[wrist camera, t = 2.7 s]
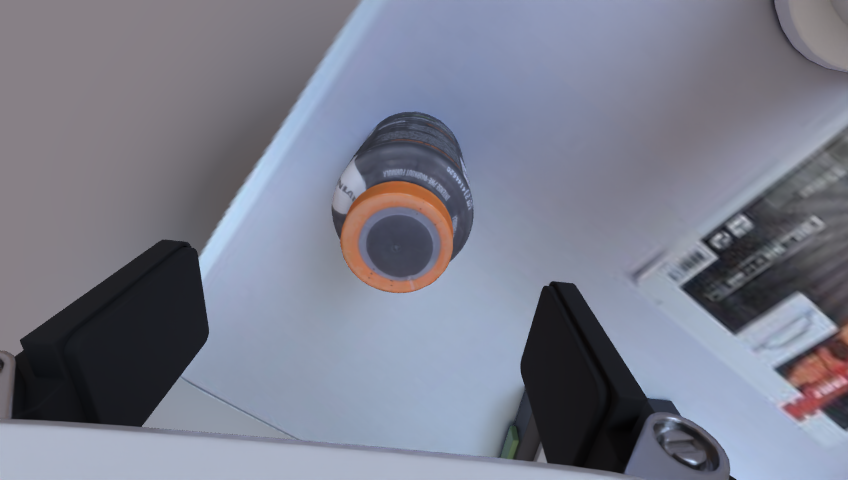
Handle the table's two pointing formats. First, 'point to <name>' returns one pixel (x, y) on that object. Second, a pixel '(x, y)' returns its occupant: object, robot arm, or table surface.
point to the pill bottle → (403, 204)
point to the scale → (526, 437)
